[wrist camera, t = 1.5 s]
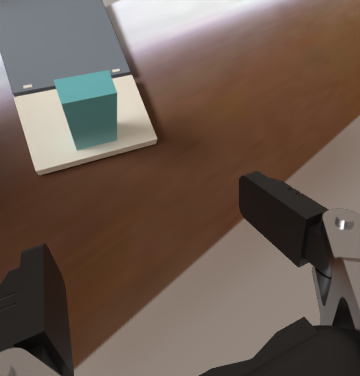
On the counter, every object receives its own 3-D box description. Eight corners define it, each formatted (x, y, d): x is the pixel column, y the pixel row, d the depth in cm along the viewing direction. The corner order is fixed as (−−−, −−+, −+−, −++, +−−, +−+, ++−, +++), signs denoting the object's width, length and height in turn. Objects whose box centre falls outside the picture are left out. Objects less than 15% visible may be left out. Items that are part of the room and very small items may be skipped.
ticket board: (16, 100, 28) (12, 92, 27) (-16, -8, 31) (-21, -19, 30) (130, 78, 32) (130, 71, 31) (92, -17, 34) (91, -27, 33)
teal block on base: (39, 175, 27) (2, 130, 18) (17, 104, 28) (-27, 30, 19) (155, 143, 30) (171, 93, 22) (131, 81, 32) (137, 11, 23)
